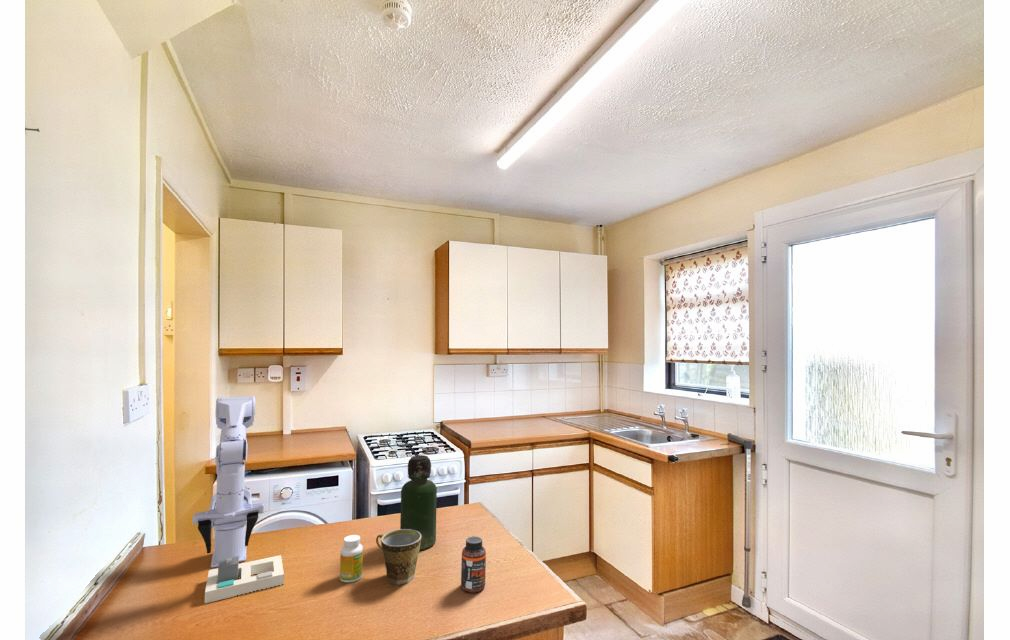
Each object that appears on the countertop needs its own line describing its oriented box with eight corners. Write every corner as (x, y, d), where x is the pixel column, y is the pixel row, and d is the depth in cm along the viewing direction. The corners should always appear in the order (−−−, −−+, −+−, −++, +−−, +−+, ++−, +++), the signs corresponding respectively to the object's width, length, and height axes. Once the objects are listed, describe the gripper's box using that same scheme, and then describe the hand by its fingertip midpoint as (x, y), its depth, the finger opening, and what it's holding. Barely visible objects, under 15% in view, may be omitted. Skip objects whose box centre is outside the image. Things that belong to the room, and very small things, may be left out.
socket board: (208, 580, 109) (208, 568, 109) (280, 564, 117) (281, 553, 117) (204, 603, 99) (205, 590, 99) (283, 584, 107) (283, 572, 107)
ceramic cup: (428, 572, 113) (429, 533, 114) (404, 592, 104) (404, 549, 105) (388, 561, 119) (389, 524, 119) (362, 579, 110) (363, 538, 110)
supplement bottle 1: (355, 584, 108) (356, 543, 108) (335, 581, 109) (336, 541, 109) (366, 573, 113) (367, 534, 113) (347, 570, 114) (348, 532, 114)
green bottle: (394, 541, 131) (396, 456, 132) (426, 532, 137) (427, 451, 139) (408, 555, 123) (410, 464, 124) (442, 545, 129) (443, 458, 130)
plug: (218, 585, 107) (219, 558, 107) (237, 581, 109) (239, 554, 109) (217, 593, 103) (218, 566, 104) (237, 589, 105) (238, 562, 106)
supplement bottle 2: (472, 597, 103) (473, 547, 103) (455, 587, 107) (456, 539, 107) (490, 586, 107) (491, 539, 108) (473, 577, 111) (474, 532, 112)
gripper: (192, 501, 100) (189, 562, 99) (264, 491, 107) (262, 547, 107) (195, 491, 106) (193, 549, 105) (263, 482, 113) (261, 536, 113)
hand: (228, 547), depth 106 cm, fingers open, 7 cm apart
